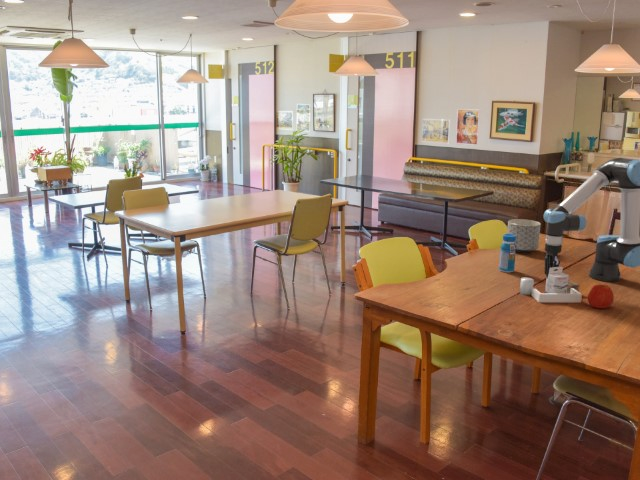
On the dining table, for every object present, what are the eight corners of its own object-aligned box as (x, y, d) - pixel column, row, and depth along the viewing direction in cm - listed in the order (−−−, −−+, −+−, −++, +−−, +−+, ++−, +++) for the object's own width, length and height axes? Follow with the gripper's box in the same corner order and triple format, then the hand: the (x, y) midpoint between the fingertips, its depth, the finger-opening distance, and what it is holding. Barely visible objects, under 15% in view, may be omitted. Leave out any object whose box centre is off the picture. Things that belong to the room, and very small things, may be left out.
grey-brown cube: (571, 291, 301) (572, 281, 300) (578, 294, 296) (579, 284, 295) (562, 292, 299) (563, 282, 298) (569, 295, 295) (570, 285, 293)
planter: (500, 247, 385) (503, 219, 380) (529, 247, 387) (532, 219, 382) (513, 255, 366) (516, 225, 362) (543, 254, 368) (546, 225, 364)
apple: (610, 312, 272) (613, 289, 270) (584, 307, 278) (587, 285, 275) (613, 305, 281) (616, 283, 279) (588, 301, 287) (591, 279, 284)
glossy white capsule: (529, 291, 300) (531, 277, 298) (534, 295, 294) (535, 281, 292) (517, 290, 300) (519, 277, 298) (522, 294, 294) (523, 281, 292)
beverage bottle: (497, 271, 332) (500, 236, 327) (499, 267, 339) (502, 232, 334) (513, 273, 329) (517, 237, 324) (515, 269, 336) (518, 234, 331)
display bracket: (572, 296, 293) (573, 288, 292) (580, 302, 284) (581, 294, 283) (531, 295, 293) (532, 287, 292) (538, 302, 284) (539, 294, 283)
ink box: (552, 300, 286) (556, 270, 283) (544, 296, 291) (548, 267, 287) (566, 298, 290) (570, 269, 286) (558, 295, 294) (562, 266, 290)
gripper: (540, 240, 298) (535, 286, 304) (551, 247, 285) (546, 294, 291) (555, 240, 299) (550, 286, 304) (567, 247, 286) (561, 294, 292)
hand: (548, 290), depth 298 cm, fingers closed
